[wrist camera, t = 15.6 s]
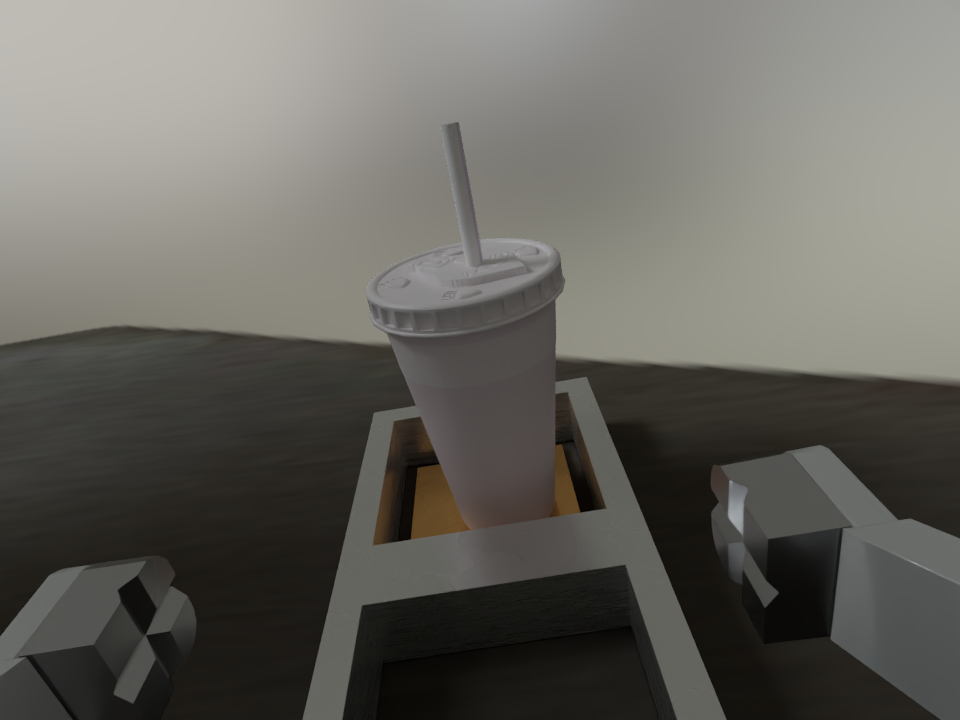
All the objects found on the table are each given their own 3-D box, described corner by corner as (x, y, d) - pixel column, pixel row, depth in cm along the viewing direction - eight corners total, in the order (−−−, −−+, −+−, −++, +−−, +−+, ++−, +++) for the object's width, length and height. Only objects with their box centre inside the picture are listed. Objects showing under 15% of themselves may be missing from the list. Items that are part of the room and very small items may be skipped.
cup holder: (277, 1094, 11) (227, 1038, 10) (387, 458, 29) (373, 412, 28) (815, 1030, 11) (826, 965, 10) (591, 424, 28) (586, 377, 27)
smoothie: (539, 590, 20) (458, 138, 14) (392, 534, 23) (276, 156, 17) (617, 474, 24) (582, 94, 18) (484, 442, 28) (417, 116, 22)
